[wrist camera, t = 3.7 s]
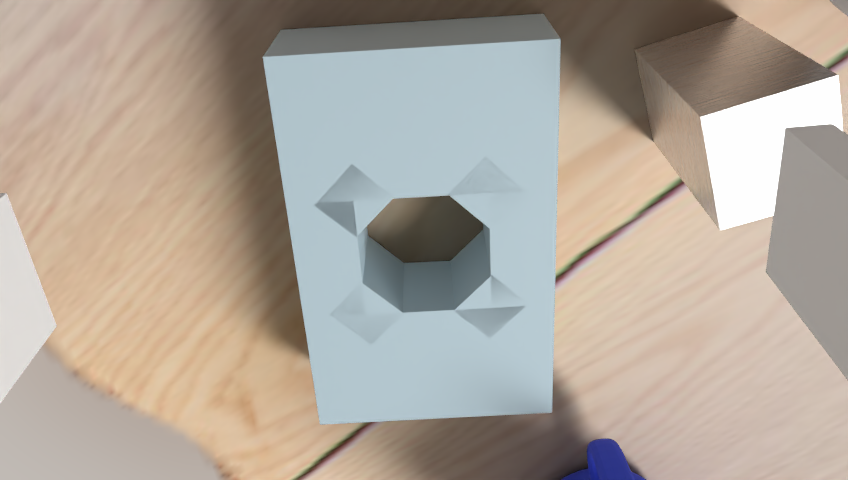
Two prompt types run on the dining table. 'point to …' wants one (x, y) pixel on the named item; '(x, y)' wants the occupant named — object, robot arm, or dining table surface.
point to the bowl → (841, 5)
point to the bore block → (422, 177)
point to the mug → (605, 463)
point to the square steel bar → (732, 112)
